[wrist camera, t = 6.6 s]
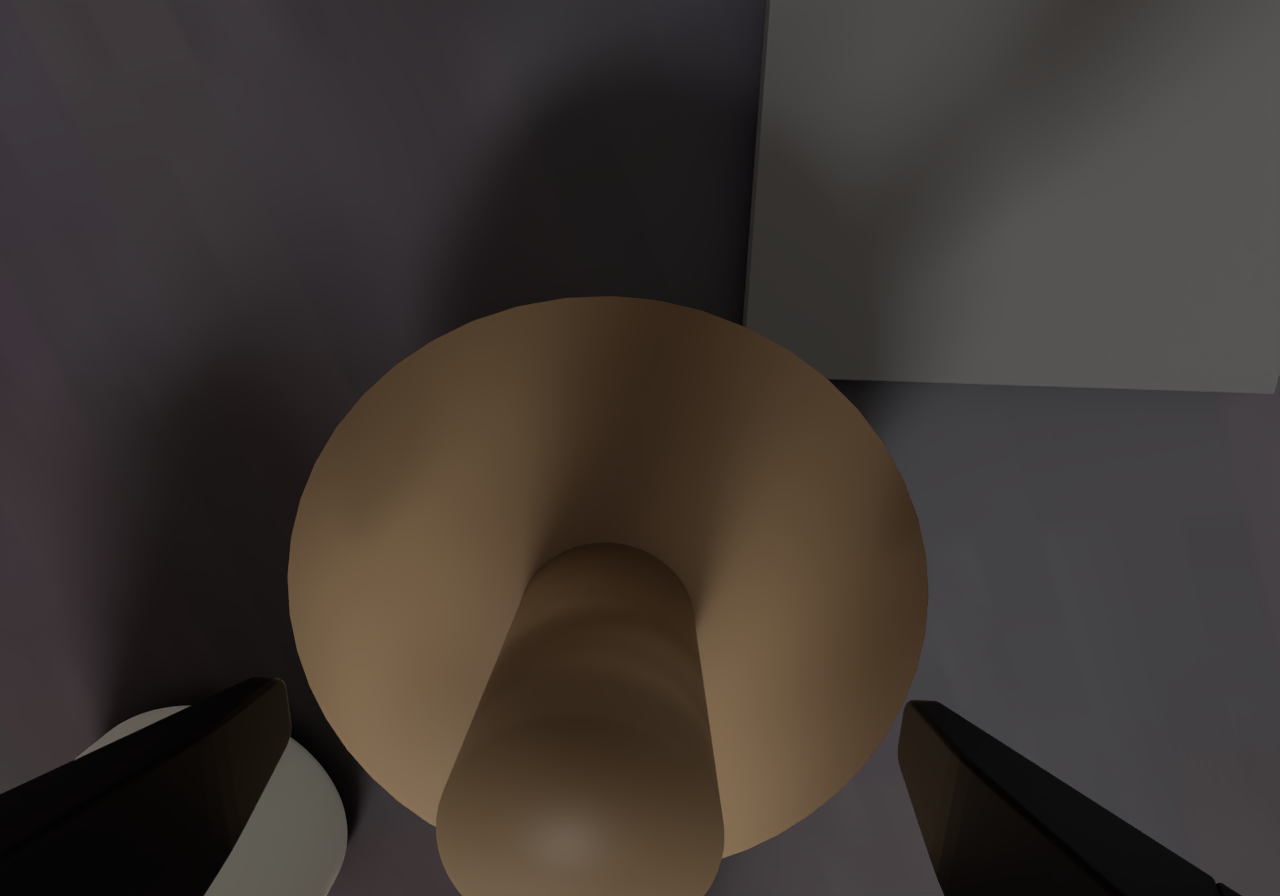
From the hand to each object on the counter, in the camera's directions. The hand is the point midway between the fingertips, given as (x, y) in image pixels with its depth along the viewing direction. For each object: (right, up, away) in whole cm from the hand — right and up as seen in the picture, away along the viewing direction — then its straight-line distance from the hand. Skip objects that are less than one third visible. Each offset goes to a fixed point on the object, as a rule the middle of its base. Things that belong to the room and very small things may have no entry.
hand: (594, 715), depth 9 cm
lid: (0, +1, +3) cm, 3 cm away
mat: (+10, +12, +5) cm, 16 cm away
